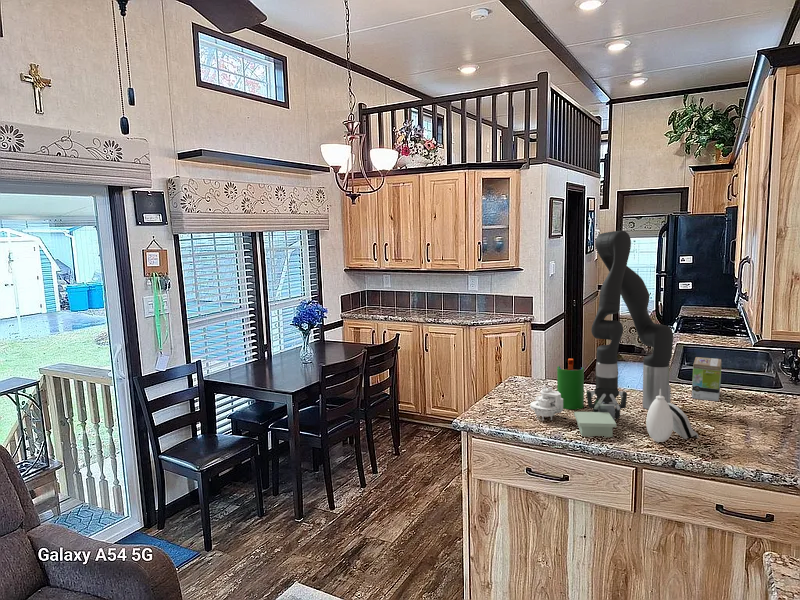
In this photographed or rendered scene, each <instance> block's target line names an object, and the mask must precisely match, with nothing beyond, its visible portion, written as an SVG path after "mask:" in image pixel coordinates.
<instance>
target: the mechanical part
mask: <svg viewBox="0 0 800 600" xmlns="http://www.w3.org/2000/svg"><path fill="white" fill-rule="evenodd" d="M541 388H542V389H541V390H540V391H539V395H536V396H535V400H534V401H531V402H530V404H529V408H530V409H531V410H532V411H534V414H535V415H536V419H539V416H540V417H541V418H542V419H541V420H542V421H545V418H544V417H549V418H550V421H553V416H555V415H556V414H561V413H562V412H563V411H564V408H563V398H561V393H559V392H558V391H557V390H553V387H552V386H549V387H547V385H543V386H542V387H541Z"/></svg>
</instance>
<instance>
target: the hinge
mask: <svg viewBox="0 0 800 600" xmlns="http://www.w3.org/2000/svg"><path fill="white" fill-rule="evenodd" d="M668 405H669V407H670V410H671V412H672V416H673V430H672V432H675V433H676V434H677V435H679V437H681V438H682V439H685V440H687V439H689V437H691V438H692V437H695V438H697V439H700V436H699V434H698V432H696V431H694V429H693V427H692V425H691V423H690V420H689V418H688V416H687V414H686V413H684V411H683V410H682V409H680V407H679V406H677V405H676V404H674V403H671V402H670V403H668Z"/></svg>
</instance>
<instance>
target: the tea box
mask: <svg viewBox="0 0 800 600" xmlns="http://www.w3.org/2000/svg"><path fill="white" fill-rule="evenodd" d="M692 365H693V366H692V382H691V383H692V384H691V398H692V399H697V400H705V401H713V402H718V401H719V400H720V396H721V395H720V394H721V383H722V359H721V358H712V357H711V358H710V357H699V356H695V358H694V361H693V364H692Z"/></svg>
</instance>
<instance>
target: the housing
mask: <svg viewBox="0 0 800 600" xmlns="http://www.w3.org/2000/svg"><path fill="white" fill-rule="evenodd" d="M615 408H616V407H615V404H614V403H613V402H601V404H600V405H599V407H598V408H597V409H598V412H609V413H610V415H611V416H612V418H613V419H614V421H615V420H616V419H615ZM615 422H616V421H615Z"/></svg>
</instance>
